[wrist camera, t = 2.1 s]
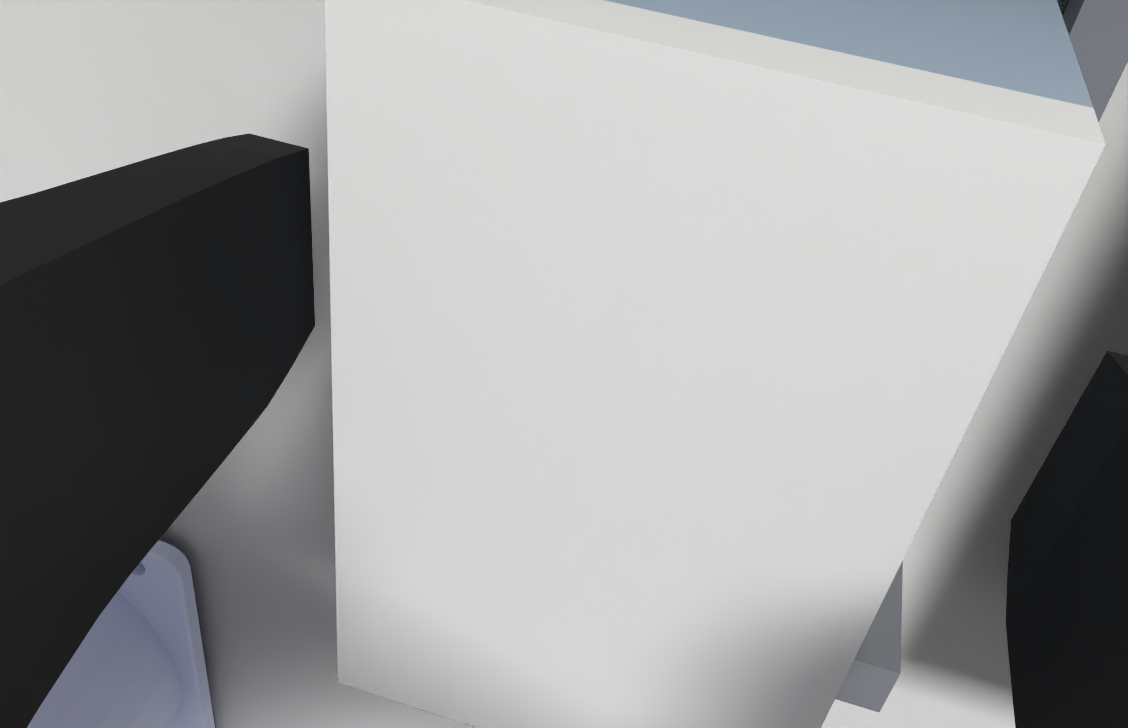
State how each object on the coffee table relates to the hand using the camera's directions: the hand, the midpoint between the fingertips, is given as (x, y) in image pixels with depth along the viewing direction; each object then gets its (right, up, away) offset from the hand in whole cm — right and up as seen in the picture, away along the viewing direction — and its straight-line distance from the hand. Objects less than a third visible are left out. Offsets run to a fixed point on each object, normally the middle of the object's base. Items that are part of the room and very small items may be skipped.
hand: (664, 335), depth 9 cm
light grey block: (+1, +2, +3) cm, 4 cm away
